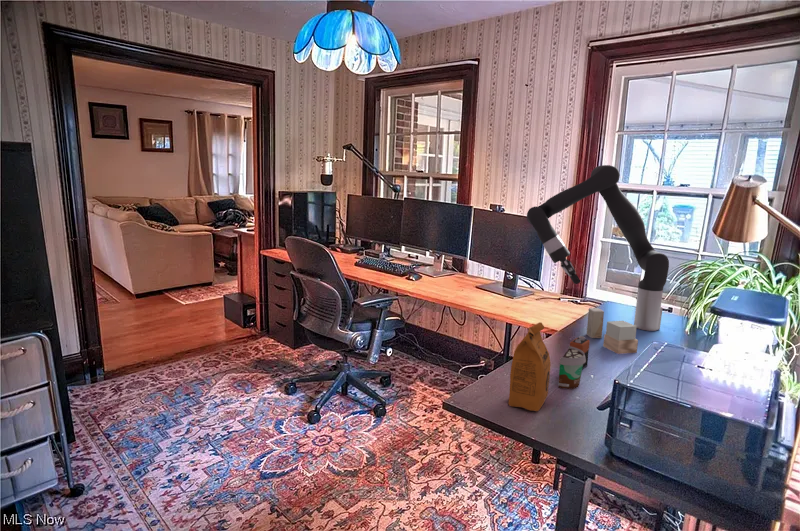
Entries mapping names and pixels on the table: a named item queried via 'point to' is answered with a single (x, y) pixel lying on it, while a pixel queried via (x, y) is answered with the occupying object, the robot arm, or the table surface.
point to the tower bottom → (620, 345)
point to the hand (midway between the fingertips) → (577, 283)
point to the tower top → (621, 330)
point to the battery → (581, 346)
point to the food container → (571, 368)
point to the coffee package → (530, 371)
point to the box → (595, 323)
